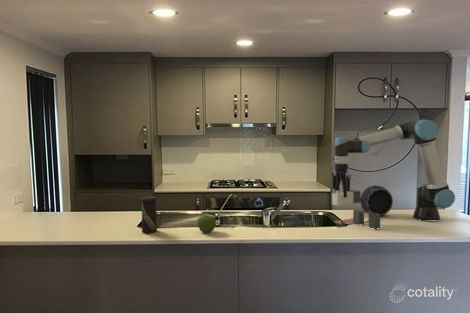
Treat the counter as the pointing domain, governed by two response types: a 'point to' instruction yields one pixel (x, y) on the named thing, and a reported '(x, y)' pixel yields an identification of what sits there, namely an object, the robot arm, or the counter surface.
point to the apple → (206, 223)
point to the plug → (352, 197)
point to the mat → (348, 221)
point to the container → (149, 214)
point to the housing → (373, 218)
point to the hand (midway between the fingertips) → (340, 201)
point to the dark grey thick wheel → (376, 200)
